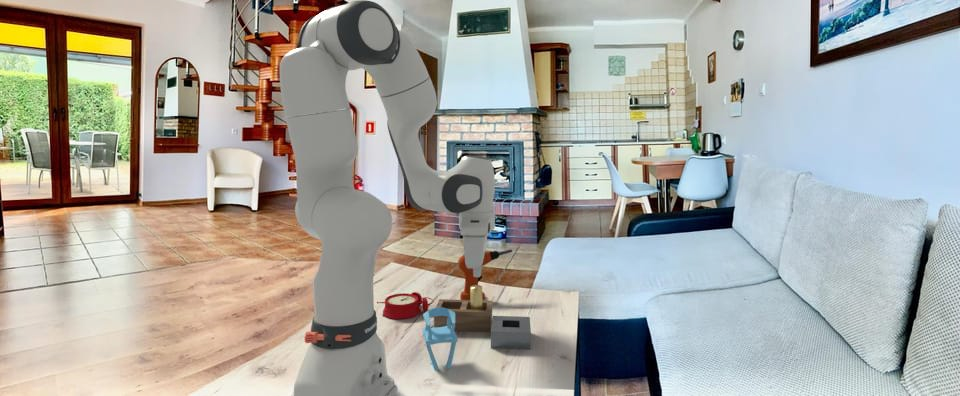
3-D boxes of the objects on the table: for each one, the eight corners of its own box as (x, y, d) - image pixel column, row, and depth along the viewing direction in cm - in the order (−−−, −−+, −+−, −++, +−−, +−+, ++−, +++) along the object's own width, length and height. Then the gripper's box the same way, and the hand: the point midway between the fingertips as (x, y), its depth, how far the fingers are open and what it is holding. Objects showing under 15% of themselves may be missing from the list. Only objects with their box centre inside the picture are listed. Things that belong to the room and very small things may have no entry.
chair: (424, 376, 91) (423, 320, 90) (420, 357, 99) (419, 305, 98) (461, 372, 93) (461, 317, 92) (454, 353, 101) (454, 302, 100)
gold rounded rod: (482, 327, 113) (481, 288, 112) (470, 327, 113) (469, 288, 112) (483, 322, 116) (482, 285, 114) (471, 322, 116) (470, 284, 115)
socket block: (530, 353, 101) (530, 332, 101) (490, 352, 102) (490, 331, 101) (529, 336, 110) (529, 316, 109) (492, 335, 111) (492, 315, 110)
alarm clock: (373, 298, 126) (421, 278, 133) (378, 318, 128) (425, 297, 135) (386, 310, 117) (436, 289, 124) (391, 332, 119) (441, 309, 126)
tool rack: (490, 335, 110) (490, 312, 110) (434, 333, 111) (433, 310, 111) (492, 322, 118) (492, 300, 117) (439, 320, 119) (439, 299, 119)
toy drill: (519, 289, 140) (514, 243, 137) (464, 305, 133) (458, 257, 130) (512, 284, 145) (507, 239, 142) (458, 300, 137) (452, 253, 134)
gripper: (468, 214, 121) (469, 263, 123) (459, 229, 101) (460, 288, 103) (491, 214, 121) (492, 263, 123) (487, 230, 101) (487, 289, 103)
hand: (477, 275), depth 113 cm, fingers closed
